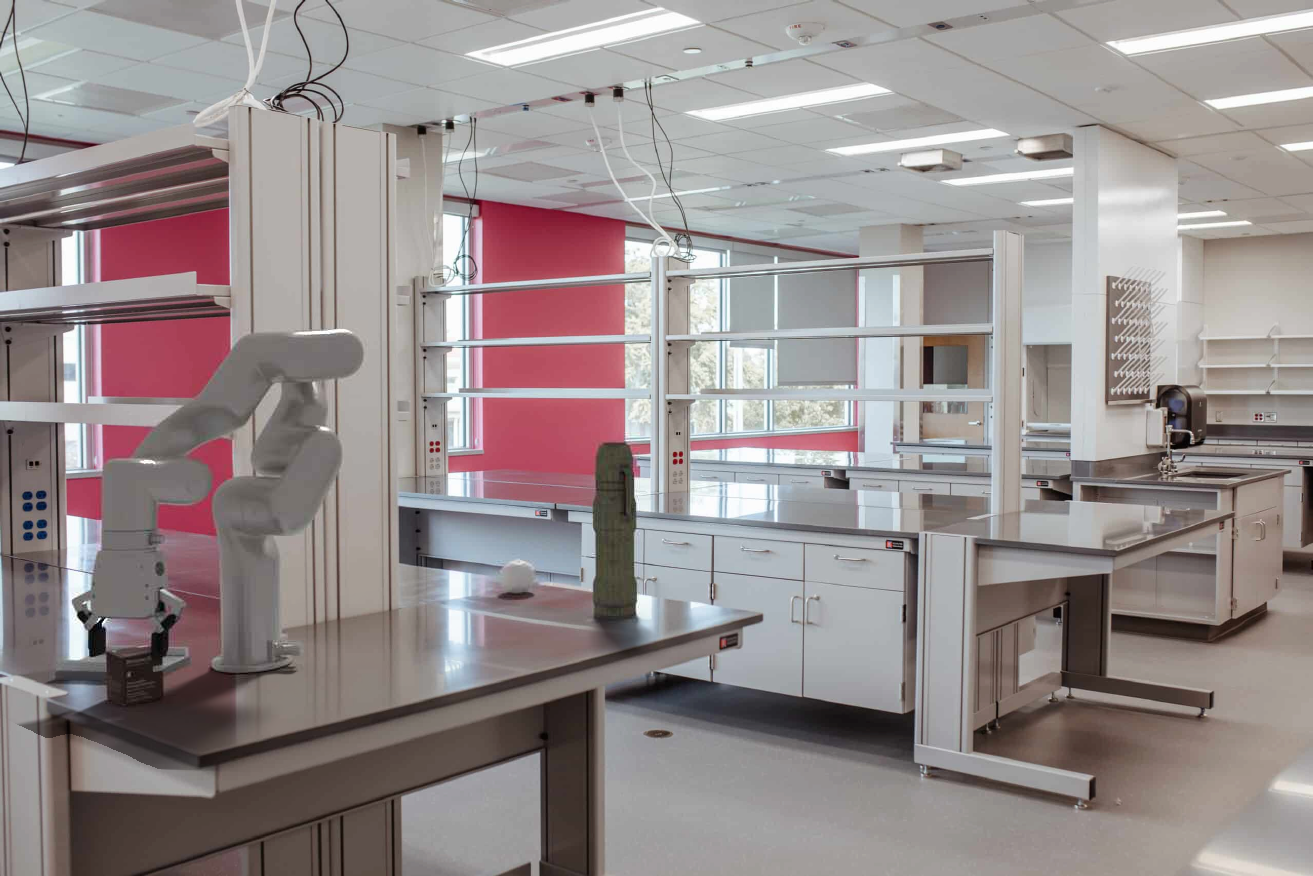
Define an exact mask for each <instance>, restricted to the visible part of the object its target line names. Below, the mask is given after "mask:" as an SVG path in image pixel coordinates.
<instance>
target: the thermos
mask: <svg viewBox="0 0 1313 876" xmlns="http://www.w3.org/2000/svg"><path fill="white" fill-rule="evenodd" d="M595 455H596V456H595V471H594V477H595V480H594V481H595V496H594V498H593V502H592V529H593V531H594V533H595V534H594V535H595V541H594V542H595V547H594V548H595V576H594V579H593V582H592V602H593V606H594V608H593V616H594V617H595V618H598V619H603V620H625V619H632V618H634V617H636V616H637V603H638V582H637V579H636V576H635V533H636V530H637V501H636V499H635V473H634V456H633V453H632V450H631V447H630V444H627V443H626V442H624V441H623V442H621V441H619V442H617V441H613V442H611V441H609V442H602V444H599V445H598V449H597V451H596V454H595Z"/></svg>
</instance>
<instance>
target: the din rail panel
mask: <svg viewBox="0 0 1313 876" xmlns="http://www.w3.org/2000/svg"><path fill="white" fill-rule="evenodd" d="M138 646H139V645H112V644H109V645H108V644H106V652H107V651H112V650H118V649H123V648H129V647H138ZM149 646H150V647H151V645H149ZM106 652H105V653H104V654H102V655H99V656H96V657H89V655H88V656H85V657H83V658H80V659H60V660H57V661H56V671H55V672H54V677H55V678H54V679H55V680H61V681H64V680H66V681H96V682H97V681H103V682H107V664H106ZM189 664H191V656H190V655H189V647H188V646H169V648H168V651H167V655H166V656H165V657H163V677H164V676H166V675H168V674H170V673H172V672H174V671H176V670H179V669H181V668H183V667H185V666H187V665H189Z"/></svg>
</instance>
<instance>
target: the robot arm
mask: <svg viewBox="0 0 1313 876" xmlns="http://www.w3.org/2000/svg"><path fill="white" fill-rule="evenodd" d="M364 354H365V350H364V347H363V344H362V341H361V340H360V338H359V337H358V336H357V335H356V334H355V333H354V332H352V331H350V330H348V329H344V328H335V329H334V328H333V329H332V328H331V329H329V328H328V329H302V330H294V331H267V332H263V331H262V332H261V331H260V332H252V333H248V334H246V335H244V336H242V337H240V339H239V340H237V342H236V343H235V344H234V346H233V347H232V348H231V349H230V351H229V353H228V354H227V355H226V356H225V358H224V359H223V361H222V362H221V363H220V365H219V366H218V368H217V369H216V370H215V372H214V373H213V374H212V376H211V377H210V379H209V381H208V382H206V384H205V386H204V387H203V389H202V390H201V391H200V393H198V394H197V395H196V397H195V398H193V399H192V400H190V401H189V402H187V403H185V404H183V405H182V406H181V407H179V408H178V409H177V410H175V411H174V412H172V413H171V414H170V415H169V416H167V417H166V418H164V419H163V420H161V421H160V422H159V423H158V424H156V426H154V427H153V428H152V429H151V430H150V431H149V432H148V433H147V435H145V437H144V438H143V440H141V442H140V443H139V445H138V446H137V448H136V449H135V450H134V452H133V453H132V455H131V457H130V458H127V457H125V458H121V457H120V458H119V457H118V458H110V459H109V460H106V461H105V462H104V463H103V465H102V469H101V531H100V533H101V535H100V536H101V537H100V539H101V543H100V550H97V553H96V556H95V558H94V559H95V561H94V565H93V569H92V576H91V586H90V589H89V590H87V591H86V592H83V593H81V594H80V595H78V596H75V597H74V598H72V600H71V605H72V607H73V609H74V611H75V612H76V617H77V618H78V620H79V621H80V622H81V623H82V624H83V628H84V630H86V631H87V648H88V649H87V650H88V656H89V657H96V656H99V655H102V654H104V653H105V652H106V645H107V628H106V626H103V625H104V623H106V621H107V620H108V619H113V620H114V619H118V620H146V621H147V622H148V623H149V625H151V627H152V628H153V630H154V632H152V633H151V636H150V640H151V641H150V646H151V659H152V660H157V659H160V658H163V657H165V656H166V655H167V651H168V648H169V647H170V645H169V643H170V641H169V637H170V635H169V634H170V633H169V632H170V630H172V629H173V627H174V625H175V624H177V622H179V620H180V619H181V616H182V614H183V613H184V610H185V608H186V606H187V601H185V600H183V599H182V598H180V597H178V596H177V595H175V594H173V593H171V592H170V591H169V588H170V587H169V578H168V577H169V576H168V569H167V563H166V559H165V555H164V550H163V549H158V547H159V544H164V543H165V540H166V537H165V535H164V534H160V533H159V529H158V521H159V520H158V519H159V518H158V514H159V513H158V512H159V511H158V510H159V508H158V507H159V505H170V506H191V505H195V504H197V503H199V502H201V501H203V500H205V499H206V498H207V497H208V496H209V495H210V494H211V492H212V490H213V487H214V475H213V472H212V471H211V468H210V467H209V466H208V465H207V464H206V463H204V462H203V461H202V460H200V459H198V458H195V457H189V456H187V455H189V454H190V453H192V452H193V451H194V450H196V449H197V448H199V447H202V445H205V444H206V443H209V442H212V441H214V440H216V439H220V438H222V437H225V436H228V435H229V434H231V433H234V432H236V431H238V430H240V429H241V428H243V427H244V426H246V424H248V421H249V420H250V419H251V417H252V415H253V414H254V412H255V411H256V409H257V408H258V406H259V405H260V403H261V402H262V401H263V399H264V397H265V396H266V395H267V393H268V392H269V391H270V389H271V387H272V386H274V384H280V385H281V392H280V393H281V394H280V399H279V401H278V403H277V405H276V407H275V409H274V410H273V412H272V413H271V415H270V417H269V419H268V421H267V422H266V424H265V425H264V427H263V429H262V430H261V432H260V434H259V436H258V437H257V438H256V441H255V442H254V445H253V446H252V448H251V453H250V464H251V467H252V468H253V469H254V471H255V472H256V473H257V474H258V475H260V476H258V475H257V476H256V475H241V476H234V477H231V478H229V479H227V480H226V481H224V482H222V483H221V484H220V485H219V486H218V487H217V488H216V490H215V492H214V494H213V496H212V497H213V498H212V500H211V501H212V502H211V513H212V517H213V518H212V519H213V523H214V527H215V531H216V536H217V543H218V551H219V585H220V587H219V590H220V591H219V592H220V594H219V595H220V630H221V631H220V635H221V637H220V638H221V654H220V655H219V654H218V656H216V657H214V658H213V659H212V661H211V668H212V669H214V670H215V671H218V672H222V673H229V674H230V673H231V674H232V673H233V674H237V673H238V674H242V673H243V674H248V673H249V674H250V673H259V672H265V671H266V672H267V671H270V670H275V669H278V668H283V667H285V666H287V665H290V663H291V662H292V661H293V658H292V657H302V656H303V655H304V653H305V646H304V643H303V642H299V641H298V642H296V641H295V642H290V641H289V639H288V638H289V636H288V633H283V629H282V627H283V626H282V583H281V579H282V577H281V576H282V575H281V573H282V572H281V569H282V566H281V564H282V563H281V556H280V554H281V553H280V551H279V547H278V544H277V542H276V539H275V537H274V536H276V537H277V536H278V537H292V536H296V535H299V534H300V533H302V532H303V531H305V530H306V529H307V528H308V527H309V526H310V524H312V521H313V520H314V518H315V517H316V515H317V514H318V513H319V510H320V508H321V506H322V504H323V502H324V501H325V498H327V495H328V493H329V491H330V489H331V487H332V486H333V484H334V482H335V481H336V478H337V477H338V474H339V473H340V472H339V471H340V470H341V466H342V462H343V461H342V460H343V446H342V442H341V440H340V438H339V436H338V435H337V434H336V433H335V431H333V430H332V429H330V428H328V427H325V426H324V425H325V422H326V420H327V418H328V415H329V403H328V400H327V397H326V394H325V391H324V388H323V385H322V382H321V381H330V380H338V379H339V380H340V379H345V378H349V377H351V376H353V375H354V374H356V373H357V372H358V370H359V369H360V368H361V366H362V365H363V361H364ZM88 602H90V609H88V605H87V603H88ZM169 608H170V613H169V614H168V615H166V613H168V611H169Z"/></svg>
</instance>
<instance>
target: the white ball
mask: <svg viewBox="0 0 1313 876" xmlns="http://www.w3.org/2000/svg"><path fill="white" fill-rule="evenodd" d="M535 578H536V571H535V568H534V566H533V565H532V564H531V563H530V562H527V561H524V560H521V559H514V560H512V561H510V562H507V563H506V565H504V566H503V567H502V568H501V569H500V570H499V582H500V584H501V586H502V587H503V588H504V590H506V591H508V592H509V593H510V594H511V593H512V594H516V595H517V594H522V593H523V594H524V593H525V592H527V591H529V590H530V589H531V588H532V586H533V585H534V581H535Z"/></svg>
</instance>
